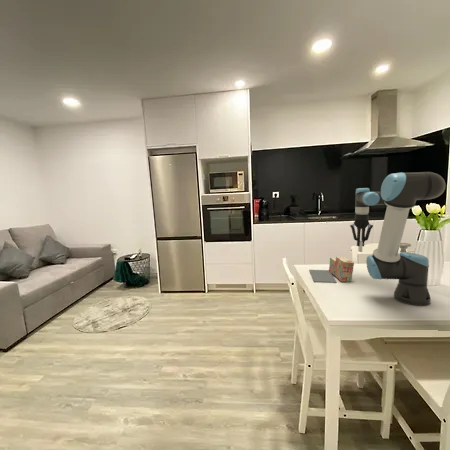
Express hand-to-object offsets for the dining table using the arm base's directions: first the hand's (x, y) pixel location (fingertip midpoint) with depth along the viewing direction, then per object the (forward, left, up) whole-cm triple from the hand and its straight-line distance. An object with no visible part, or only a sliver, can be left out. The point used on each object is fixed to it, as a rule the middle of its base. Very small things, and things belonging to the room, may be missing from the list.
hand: (360, 251), depth 169 cm
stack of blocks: (0, +12, -17) cm, 20 cm away
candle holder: (+7, -27, -17) cm, 33 cm away
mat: (0, +22, -17) cm, 28 cm away
